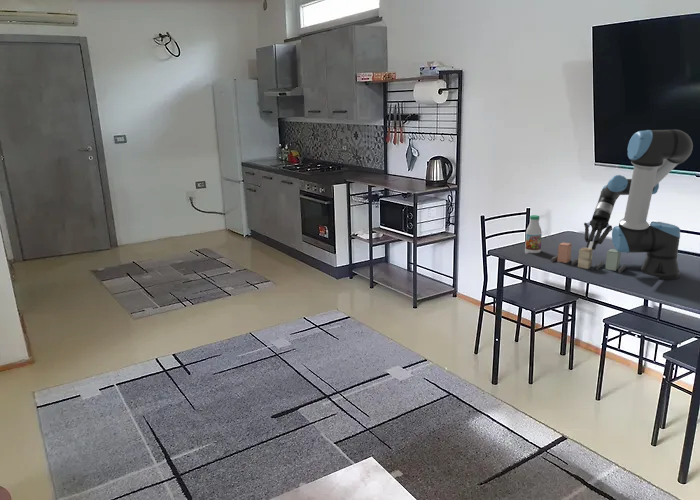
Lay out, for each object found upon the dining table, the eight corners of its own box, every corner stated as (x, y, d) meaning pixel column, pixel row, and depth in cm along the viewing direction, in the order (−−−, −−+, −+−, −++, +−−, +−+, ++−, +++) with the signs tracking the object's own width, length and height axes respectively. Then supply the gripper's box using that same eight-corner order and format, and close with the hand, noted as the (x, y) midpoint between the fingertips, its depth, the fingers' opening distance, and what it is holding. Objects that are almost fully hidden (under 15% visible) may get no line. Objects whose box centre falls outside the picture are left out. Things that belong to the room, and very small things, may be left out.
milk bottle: (521, 252, 283) (523, 215, 278) (534, 251, 285) (536, 213, 280) (530, 256, 276) (532, 217, 271) (543, 254, 278) (545, 216, 273)
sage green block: (608, 266, 251) (610, 248, 249) (619, 268, 248) (621, 250, 246) (605, 269, 247) (607, 251, 245) (615, 270, 244) (617, 252, 242)
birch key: (581, 264, 255) (582, 247, 253) (591, 266, 252) (592, 248, 250) (577, 267, 251) (579, 249, 249) (587, 268, 248) (589, 250, 246)
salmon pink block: (561, 259, 265) (562, 242, 263) (570, 260, 262) (571, 243, 260) (557, 261, 261) (558, 244, 259) (566, 263, 258) (568, 245, 256)
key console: (558, 259, 268) (558, 253, 268) (625, 270, 249) (626, 264, 248) (550, 264, 261) (550, 258, 260) (619, 275, 241) (620, 269, 241)
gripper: (617, 219, 260) (604, 260, 253) (589, 216, 269) (575, 256, 261) (615, 210, 255) (601, 252, 247) (587, 207, 263) (572, 248, 256)
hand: (588, 254), depth 254 cm, fingers closed
